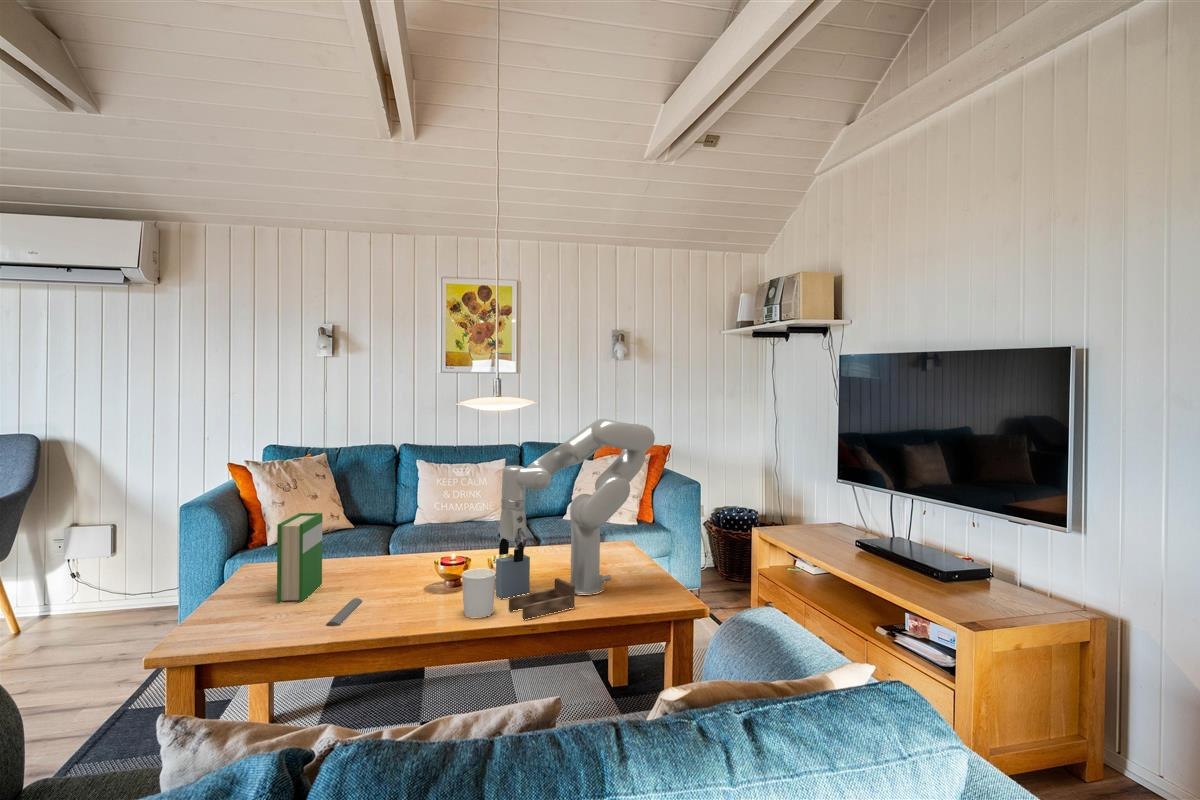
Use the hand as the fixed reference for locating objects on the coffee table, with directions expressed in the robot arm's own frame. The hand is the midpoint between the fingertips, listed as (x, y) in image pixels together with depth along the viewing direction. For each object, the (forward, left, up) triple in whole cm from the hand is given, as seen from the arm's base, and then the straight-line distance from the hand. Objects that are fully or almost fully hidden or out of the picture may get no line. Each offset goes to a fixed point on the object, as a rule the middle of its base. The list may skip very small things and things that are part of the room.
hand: (510, 557), depth 199 cm
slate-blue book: (-1, 0, -12) cm, 12 cm away
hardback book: (+54, -39, -12) cm, 68 cm away
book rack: (-1, +17, -12) cm, 21 cm away
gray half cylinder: (+47, -13, -13) cm, 51 cm away
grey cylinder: (+16, +9, -12) cm, 22 cm away
